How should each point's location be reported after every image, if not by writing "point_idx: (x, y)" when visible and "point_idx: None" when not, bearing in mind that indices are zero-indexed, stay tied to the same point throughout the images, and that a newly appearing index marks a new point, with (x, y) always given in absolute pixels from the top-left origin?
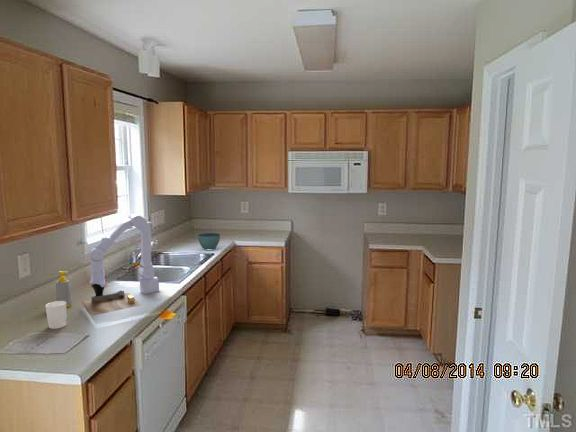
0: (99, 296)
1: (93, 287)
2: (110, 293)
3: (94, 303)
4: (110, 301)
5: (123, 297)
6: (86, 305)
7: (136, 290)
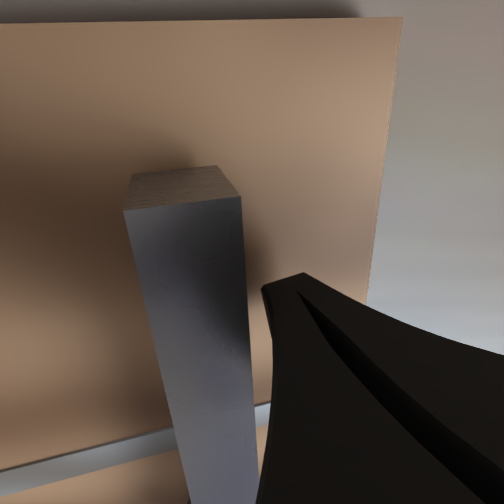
0: (159, 364)
1: (469, 446)
2: (239, 492)
3: None
4: (119, 412)
5: None
6: (53, 38)
7: None
